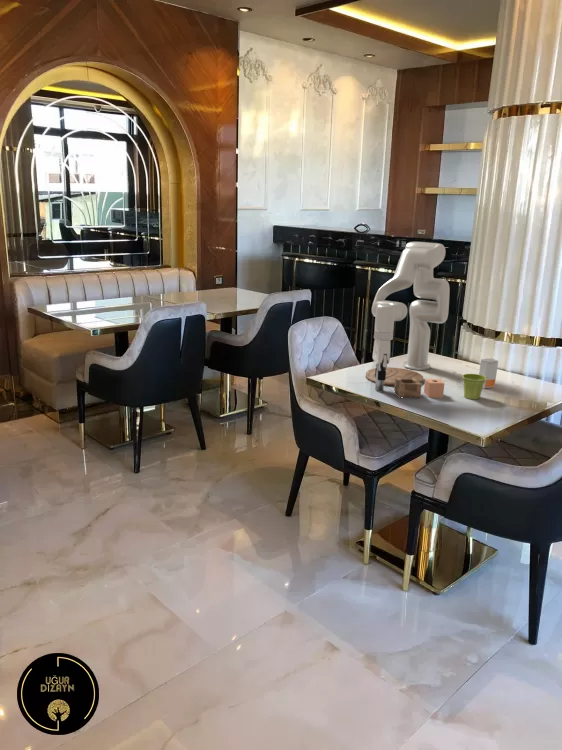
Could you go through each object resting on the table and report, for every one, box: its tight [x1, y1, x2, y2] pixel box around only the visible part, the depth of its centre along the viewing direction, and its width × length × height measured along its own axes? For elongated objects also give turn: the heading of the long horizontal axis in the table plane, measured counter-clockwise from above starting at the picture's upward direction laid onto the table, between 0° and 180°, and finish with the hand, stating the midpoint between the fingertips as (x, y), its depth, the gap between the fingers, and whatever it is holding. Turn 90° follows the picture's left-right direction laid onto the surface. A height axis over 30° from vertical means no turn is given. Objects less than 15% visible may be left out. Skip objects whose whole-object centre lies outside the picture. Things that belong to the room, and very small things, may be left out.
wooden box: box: [393, 378, 422, 399], centre depth 250 cm, size 8×8×6 cm
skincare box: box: [478, 357, 499, 389], centre depth 263 cm, size 6×4×12 cm
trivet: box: [365, 366, 424, 387], centre depth 272 cm, size 25×25×2 cm
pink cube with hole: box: [423, 378, 445, 398], centre depth 251 cm, size 6×6×6 cm
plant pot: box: [461, 373, 486, 400], centre depth 249 cm, size 9×9×9 cm
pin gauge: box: [374, 362, 385, 392], centre depth 253 cm, size 3×3×14 cm
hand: (380, 378), depth 254 cm, fingers closed on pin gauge, 3 cm apart
